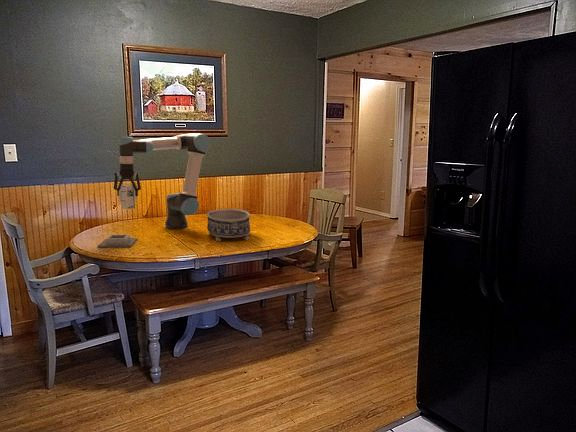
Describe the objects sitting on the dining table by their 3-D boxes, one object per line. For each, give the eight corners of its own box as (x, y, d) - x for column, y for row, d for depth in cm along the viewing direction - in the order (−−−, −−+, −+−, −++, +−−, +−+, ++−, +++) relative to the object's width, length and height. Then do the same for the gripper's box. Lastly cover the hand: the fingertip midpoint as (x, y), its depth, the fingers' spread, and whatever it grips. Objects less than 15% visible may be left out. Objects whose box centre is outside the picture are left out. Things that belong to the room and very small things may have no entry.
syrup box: (127, 209, 262) (126, 185, 259) (120, 208, 265) (120, 184, 262) (135, 208, 266) (134, 184, 264) (128, 207, 270) (128, 183, 267)
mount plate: (137, 239, 268) (137, 233, 267) (130, 247, 250) (130, 240, 249) (106, 240, 266) (106, 233, 265) (97, 247, 248) (97, 240, 247)
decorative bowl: (257, 242, 266) (258, 218, 263) (213, 245, 257) (213, 220, 254) (241, 228, 305) (241, 206, 302) (202, 230, 296) (201, 208, 293)
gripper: (106, 163, 256) (108, 202, 260) (143, 164, 258) (144, 202, 262) (110, 162, 264) (111, 200, 268) (146, 163, 266) (147, 201, 270)
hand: (127, 201), depth 265 cm, fingers closed on syrup box, 8 cm apart
